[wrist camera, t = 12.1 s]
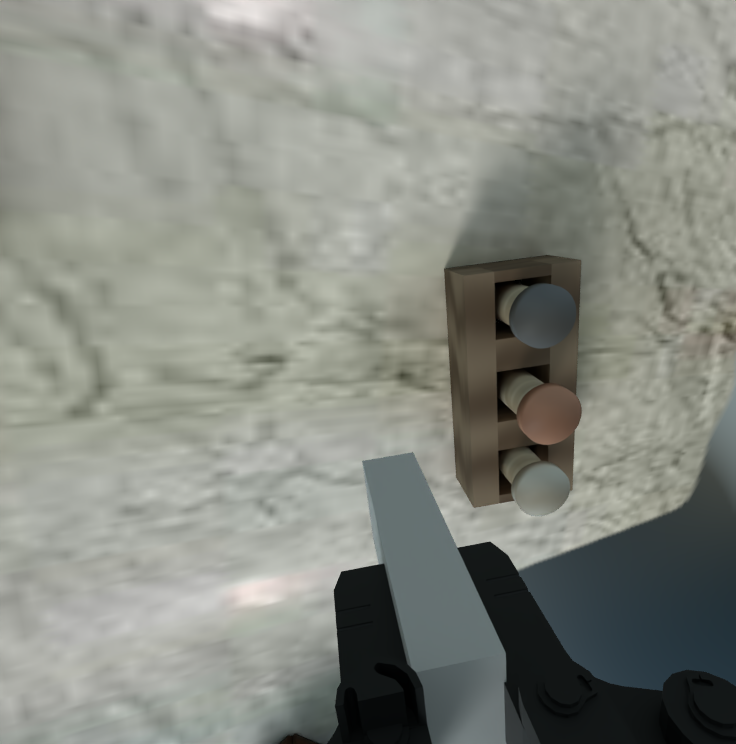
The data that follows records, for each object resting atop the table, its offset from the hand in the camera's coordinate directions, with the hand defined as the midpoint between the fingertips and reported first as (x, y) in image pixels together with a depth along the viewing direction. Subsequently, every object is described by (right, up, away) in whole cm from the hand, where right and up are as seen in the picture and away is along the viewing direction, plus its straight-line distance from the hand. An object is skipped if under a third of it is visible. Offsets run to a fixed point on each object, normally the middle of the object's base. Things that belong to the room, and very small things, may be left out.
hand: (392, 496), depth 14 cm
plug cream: (+12, -3, +30) cm, 32 cm away
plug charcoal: (+10, +10, +25) cm, 29 cm away
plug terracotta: (+11, +3, +27) cm, 29 cm away
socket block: (+11, +4, +28) cm, 30 cm away
